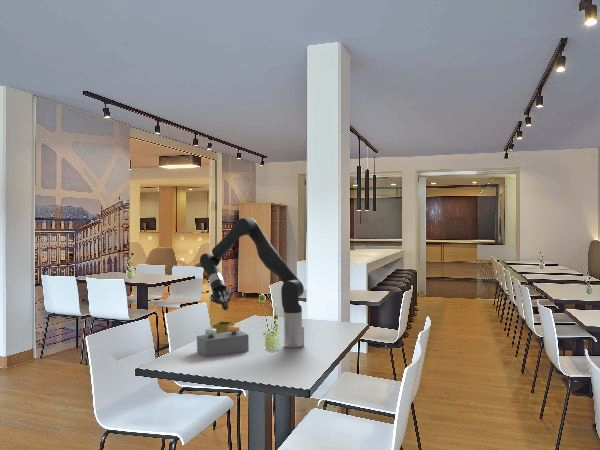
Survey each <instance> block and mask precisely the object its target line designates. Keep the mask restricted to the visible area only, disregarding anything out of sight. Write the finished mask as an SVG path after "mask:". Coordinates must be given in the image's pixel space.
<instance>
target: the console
mask: <svg viewBox="0 0 600 450" xmlns="http://www.w3.org/2000/svg"><path fill="white" fill-rule="evenodd" d="M249 345H250V343H249V334H248V333H246V332H244V331H241V330H239V331H237V332H236V334H233V335H232V332H223V333H216V334H214V335H213V337H212V338H209V335H206V334H202V335H197V336H196V352H198V353H197V354H199V355H200V354H201V356H202V357H203V356H204V359H205V358H207V357H208V358H213V356H214V357H220V356H226V355H231V354H240V353H243V352H249V351H250V350H249V349H250V348H249V347H250V346H249Z"/></svg>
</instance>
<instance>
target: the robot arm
mask: <svg viewBox="0 0 600 450" xmlns="http://www.w3.org/2000/svg"><path fill="white" fill-rule="evenodd" d="M243 236H249V238H250V239H251V241H253V243H254V245H255V247H256V252H257V256H258V257H259V260H260V262H262V263H263V265H264V266H265V267H266V268H267V270H269V271H270V272H271V273H273V274H274V275H276V277H278V278H279V279H280V280H281V282H283V284H281V285H282V286H281V289H280V290H281V291H280V293H281V295H280V297H281V306H282V309H283V335H284V336H283V339H284V340H283V343H284V344H283V345H284V347H286V348H290V349H291V348H293V349H294V348H295V349H296V348H301V347H304V346H305V327H304V326H303V311H302V310H303V307H302V305H301V304H300V302H299V297H301V296H302V295H303V294H304V291H305V288H304V285H303V283H302V282H301V280H300V279H299V278H298V276H296V275H295V274H294V272H292V270H291V268H289V267H288V265H287V264H286V262H285V261H284V260H283V258H282V257H281V255H280V254H279V252H278V251H277V250H276V249H275V247H274V246H273V245H272V244H271V242H270V240H269V239H268V238H267V237H266V236H265V234H264V232H263V231H262V229H261V228H260V226H259V224H258V223H257V221H256V220H255V219H254V218H252V217H242V218H239V219H237V220H236V222H235V223H234V224H233V226H232V227H231V228H230V230H229V231H228V233H227V234H226V235H225V236H224V237H223V239H221V240H220V241H219V242H218V243H217V244H216V245H215V246H214V247H213V248H212V250H211V253H212V254H209V253H203V254H201V255H200V257H199V264H200V266H201V268H202V269H203V270H204V272H205V273H206V275H207V279H208V282H209V286H210V289H211V292H212V294H210V296H209V299H210V300H211V301H212V302H214V303H215V304H216V305H221V308H222V309H223V311H228V309H229V303H230V301H231V299H232V297H233V294H234V292H229V290H228V289H227V286H226V282H225V281H224V277H223V275H222V273H221V271H220V268H219V267H218V266H219V264H220V263H221V260H222V259H223V257H225V255H226V254H228V252H229V251H231V249H232V248H233V246H234V243H235V242H236V241H237V240H239V239H240V238H242V237H243ZM227 297H228V298H227Z"/></svg>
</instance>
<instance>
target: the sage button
mask: <svg viewBox="0 0 600 450" xmlns="http://www.w3.org/2000/svg"><path fill="white" fill-rule="evenodd" d="M214 334H216V329H213V328H206V329H205V333H204V335H209V338H212V337H213V335H214Z"/></svg>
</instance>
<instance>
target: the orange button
mask: <svg viewBox="0 0 600 450" xmlns="http://www.w3.org/2000/svg"><path fill="white" fill-rule="evenodd" d="M229 331H230V332H232V335H233V334H236V332H237V331H240V325H234V326H229Z"/></svg>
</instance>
